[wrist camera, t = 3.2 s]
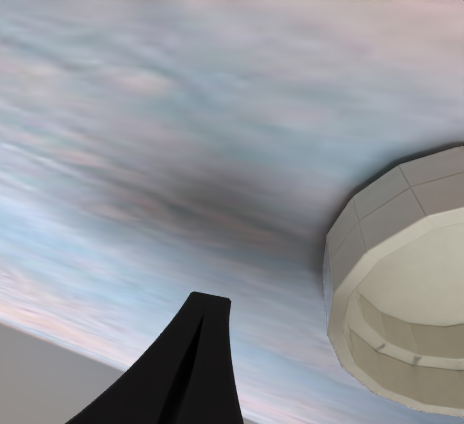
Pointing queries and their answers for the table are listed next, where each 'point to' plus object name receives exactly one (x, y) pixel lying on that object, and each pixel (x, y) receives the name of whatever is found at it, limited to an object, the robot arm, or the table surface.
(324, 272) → the bowl
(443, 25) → the table surface
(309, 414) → the table surface
